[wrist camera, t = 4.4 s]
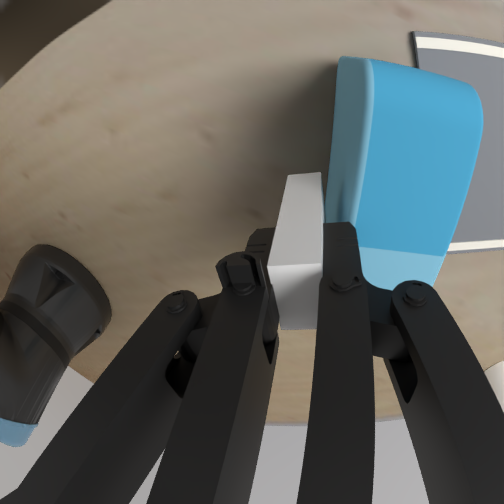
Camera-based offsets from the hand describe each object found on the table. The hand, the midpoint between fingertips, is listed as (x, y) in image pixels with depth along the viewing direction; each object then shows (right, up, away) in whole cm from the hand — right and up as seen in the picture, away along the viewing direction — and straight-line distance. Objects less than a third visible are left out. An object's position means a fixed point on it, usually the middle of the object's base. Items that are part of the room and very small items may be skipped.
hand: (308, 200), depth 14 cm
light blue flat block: (+5, +6, +6) cm, 10 cm away
